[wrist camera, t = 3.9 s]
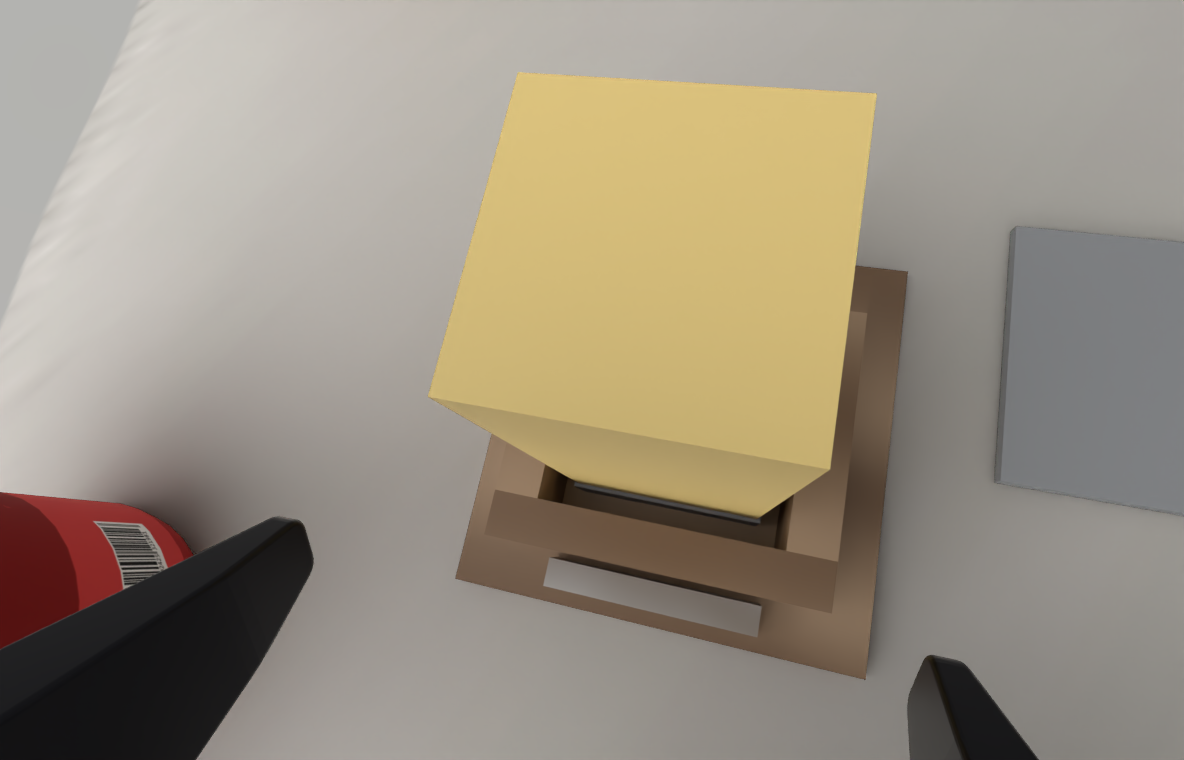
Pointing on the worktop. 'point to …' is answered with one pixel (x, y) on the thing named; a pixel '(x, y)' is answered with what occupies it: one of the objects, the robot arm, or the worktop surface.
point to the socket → (717, 530)
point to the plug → (664, 287)
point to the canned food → (73, 557)
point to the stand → (1094, 368)
